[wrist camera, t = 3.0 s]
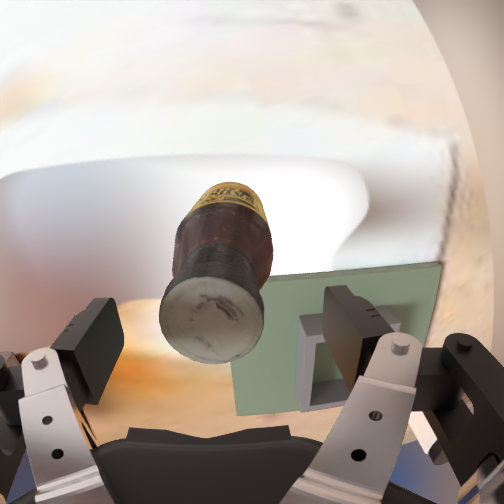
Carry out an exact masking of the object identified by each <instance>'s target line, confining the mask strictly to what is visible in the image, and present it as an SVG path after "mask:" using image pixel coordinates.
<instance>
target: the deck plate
mask: <svg viewBox="0 0 504 504" xmlns="http://www.w3.org/2000/svg"><path fill="white" fill-rule="evenodd" d="M441 269H442V266H441V265H440V264H438V263H437V262H428V263H418V264H408V265H398V266H387V267H376V268H365V269H354V270H342V271H330V272H317V273H305V274H291V275H278V276H269V278H268V279H267V281H266V282H265V284H264V285H263V287H262V289H261V290H260V291H259V292H260V294H261V296H262V299H263V303H264V308H265V310H264V328H263V331H262V334H261V337H260V339H259V341H258V342H257V344H256V346H255V347H254V348H253V349H252V350H251V351H250V352H249V353H248V354H247V355H245V356H244V357H242V358H240V359H237V360H233V361H231V370H232V379H233V387H234V396H235V404H236V412H237V416H247V415H261V414H272V413H282V412H291V411H299V410H300V412H301V413H302V412H309V411H316V410H322V409H328V408H334V407H340V406H344V405H345V403H346V401H347V400H348V398H349V396H350V392H349V390H348V388H347V386H346V384H345V382H344V379H343V377H342V375H341V373H340V371H339V369H338V367H337V364H336V362H335V360H334V358H333V356H332V354H331V352H330V350H329V348H328V345H327V343H326V341H325V339H324V337H323V332H322V315H323V302H324V290H325V287H326V286H336V285H346V286H347V287H348V288H349V289H350V291H351V292H352V293H353V294H354V296H361V297H362V298H364V299H366V300H368V301H370V303H371V304H372V305H373V306H374V307H375V309H376V310H377V311H378V312H379V313H380V316H382V317H383V318H384V319H385V320H386V322H387V323H388V324H389V325H390V326H391V328H392V329H393V330H394V331H395V332H400V333H405V334H409V335H411V336H413V337H415V338H416V339H417V340H419V342H420V343H421V345H422V348H423V346H424V343H425V339H426V336H427V332H428V328H429V324H430V321H431V317H432V313H433V308H434V304H435V300H436V295H437V290H438V285H439V280H440V275H441Z"/></svg>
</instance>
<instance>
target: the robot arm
mask: <svg viewBox="0 0 504 504" xmlns="http://www.w3.org/2000/svg"><path fill="white" fill-rule="evenodd" d="M322 332H323V337H324V339H325V341H326V343H327V345H328V348H329V350H330V352H331V354H332V356H333V358H334V360H335V362H336V364H337V367H338V369H339V371H340V373H341V375H342V377H343V379H344V382H345V384H346V386H347V388H348V390H349V392H350V396H349V398H348V400H347V401H346V403H345V405H344V407H343V409H342V411H341V413H340V415H339V417H338V418H337V420H336V422H335V424H334V426H333V427H332V429H331V431H330V433H329V434H328V436H327V438H326V439H325V441H324V443H322V442H319V441H316V440H312V439H308V438H303V437H297V436H291V435H290V430H289V426H288V425H285V426H276V427H265V428H253V429H246V430H242V431H238V432H234V433H230V434H225V435H221V436H217V437H212V438H199V437H194V436H189V435H185V434H181V433H176V432H172V431H168V430H158V429H143V428H131V427H129V430H128V434H127V437H126V438H124V439H119V440H114V441H111V442H107V443H105V444H102V445H100V443H99V441H98V439H97V437H96V435H95V433H94V430H93V428H92V426H91V424H90V422H89V420H88V417H87V415H86V413H85V411H84V409H83V407H84V405H85V404H93V405H98V403H99V401H100V398H101V396H102V393H103V391H104V389H105V387H106V384H107V382H108V380H109V377H110V375H111V373H112V371H113V369H114V366H115V364H116V362H117V360H118V358H119V355H120V353H121V351H122V349H123V346H124V333H123V329H122V326H121V322H120V318H119V314H118V310H117V306H116V303H115V300H114V299H113V298H94V299H93V300H92V301H91V303H90V304H89V305H88V306H87V308H86V309H85V310H84V311H82V312H80V313H79V314H77V315H76V316H74V318H73V319H72V320H71V321H70V323H69V325H67V326H66V328H65V329H64V331H63V332H62V333H61V334H60V335H59V337H58V338H57V339H56V340H55V342H54V343H53V344H52V346H51V347H50V348H42V349H38V350H35V351H33V352H31V353H29V354H28V355H27V356H26V357H25V358H24V359H23V361H22V365H19V366H10V367H8V365H7V363H6V361H5V359H4V357H3V356H2V355H0V415H1V418H0V504H6V500H7V497H8V494H9V491H10V489H11V486H12V483H13V480H14V477H15V475H16V472H17V470H18V467H19V464H20V462H21V459H22V457H23V454H24V452H25V450H26V448H27V452H28V457H29V461H30V465H31V469H32V472H33V476H34V480H35V483H36V486H37V487H36V488H34V489H32V490H31V491H29V492H28V493H26V494H24V495H23V496H21V497H19V498H18V499H16V500H14V501H13V502H11V503H9V504H436V503H434V502H432V501H430V500H427V499H426V498H423V497H421V496H419V495H417V494H415V493H413V492H411V491H409V490H407V489H405V488H403V487H401V486H399V485H397V484H395V483H393V482H391V481H390V480H389V479H390V477H391V474H392V471H393V468H394V466H395V463H396V460H397V457H398V454H399V451H400V448H401V445H402V442H403V439H404V435H405V432H406V428H407V425H408V421H409V418H410V414H411V412H419V411H422V412H423V414H424V416H425V417H426V419H427V421H428V423H429V425H430V427H431V428H432V430H433V432H434V434H435V436H436V438H437V440H438V442H439V443H440V445H441V447H442V449H443V451H444V453H445V455H446V457H447V459H448V461H449V463H450V465H451V467H452V469H453V471H454V473H455V475H456V477H457V479H458V481H459V483H460V486H461V488H460V490H459V492H458V497H457V503H458V504H504V367H503V366H502V365H501V364H500V363H499V362H498V361H497V360H496V358H495V357H494V356H493V355H492V354H491V353H490V352H489V351H488V350H487V349H486V348H485V347H484V346H483V345H482V344H481V343H480V342H479V341H478V340H477V339H476V338H474V337H472V336H470V335H468V334H463V333H454V334H450V335H449V336H447V337H446V339H445V341H444V344H443V347H442V348H422V345H421V343H420V342H419V340H417V339H416V338H415V337H413V336H411V335H409V334H405V333H400V332H395V331H394V330H393V329H392V328H391V326H390V325H389V324H388V323H387V322H386V320H385V319H384V318H383V317H382V316H380V313H379V312H378V311H377V310H376V309H375V307H374V306H373V305H372V304H371V303H370V301H368V300H366V299H364V298H362V297H361V296H354V294H353V293H352V292H351V291H350V289H349V288H348V287H347V286H346V285H336V286H326V287H325V290H324V302H323V315H322ZM464 392H465V393H466V395H467V396H468V398H469V399H470V400H471V402H472V404H473V407H474V414H472V413H471V412H470V410H469V408H468V407H467V406H466V404H465V403H464V401H463V400H462V397H463V394H464Z"/></svg>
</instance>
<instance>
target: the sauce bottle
mask: <svg viewBox="0 0 504 504" xmlns="http://www.w3.org/2000/svg"><path fill="white" fill-rule="evenodd" d="M272 261H273V245H272V238H271V233H270V229H269V226H268V222H267V219H266V216H265V213H264V209H263V206H262V203H261V201H260V199H259V197H258V196H257V194H256V193H255V192H254V191H253V190H251V189H250V188H249V187H247V186H246V185H243V184H240V183H236V182H224V183H220V184H217V185H215V186H212V187H211V188H210V189H208V190H207V191H206V192H205V193H204V194H203V195H202V197H201V198H200V199H199V200H198V201H197V203H196V204H195V205H194V206H193V208H192V209H191V211H190V212H189V213H188V214H187V215H186V217H185V218H184V219H183V220H182V222H181V224H180V225H179V227H178V229H177V233H176V238H175V247H174V257H173V268H172V272H173V277H174V278H173V280H172V281H171V282H170V283H169V285H168V286H167V288H166V290H165V294H164V296H163V298H162V301H161V305H160V311H159V323H160V326H161V330H162V333H163V335H164V337H165V338H166V340H167V341H168V343H169V344H170V345H171V346H172V347H173V348H174V349H175V350H176V351H178V352H179V353H180V354H181V355H183V356H185V357H188V358H190V359H191V360H193V361H198V362H201V363H206V364H223V363H227V362H230V361H233V360H237V359H240V358H242V357H244V356H245V355H247V354H248V353H249V352H250V351H251V350H252V349H253V348H254V347H255V346H256V344H257V342H258V341H259V339H260V337H261V334H262V331H263V328H264V310H265V308H264V303H263V299H262V296H261V294H260V292H259V291H260V290H261V289H262V287H263V285H264V284H265V282H266V281H267V279H268V278H269V275H270V271H271V266H272Z"/></svg>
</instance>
